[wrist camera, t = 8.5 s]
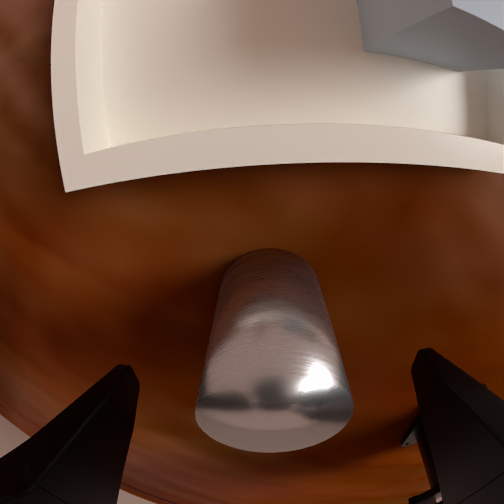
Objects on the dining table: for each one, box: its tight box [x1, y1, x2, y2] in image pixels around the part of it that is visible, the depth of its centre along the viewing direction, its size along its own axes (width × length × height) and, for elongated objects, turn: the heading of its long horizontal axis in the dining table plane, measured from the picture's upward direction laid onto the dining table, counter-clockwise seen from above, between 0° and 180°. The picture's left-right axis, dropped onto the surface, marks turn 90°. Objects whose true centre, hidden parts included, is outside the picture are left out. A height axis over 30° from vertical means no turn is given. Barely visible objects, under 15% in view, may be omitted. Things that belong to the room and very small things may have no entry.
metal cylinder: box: [195, 248, 354, 453], centre depth 9 cm, size 4×4×6 cm
